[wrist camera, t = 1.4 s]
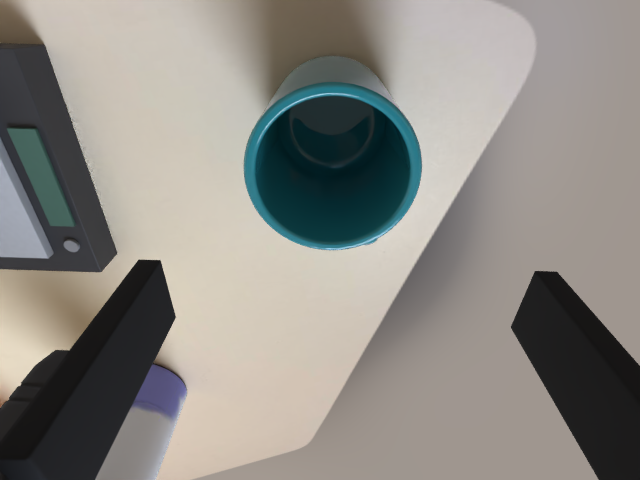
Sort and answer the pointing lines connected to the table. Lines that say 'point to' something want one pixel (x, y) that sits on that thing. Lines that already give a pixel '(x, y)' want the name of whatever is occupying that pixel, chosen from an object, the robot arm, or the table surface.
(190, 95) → the table surface
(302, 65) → the cup
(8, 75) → the scale
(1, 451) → the robot arm
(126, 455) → the container
